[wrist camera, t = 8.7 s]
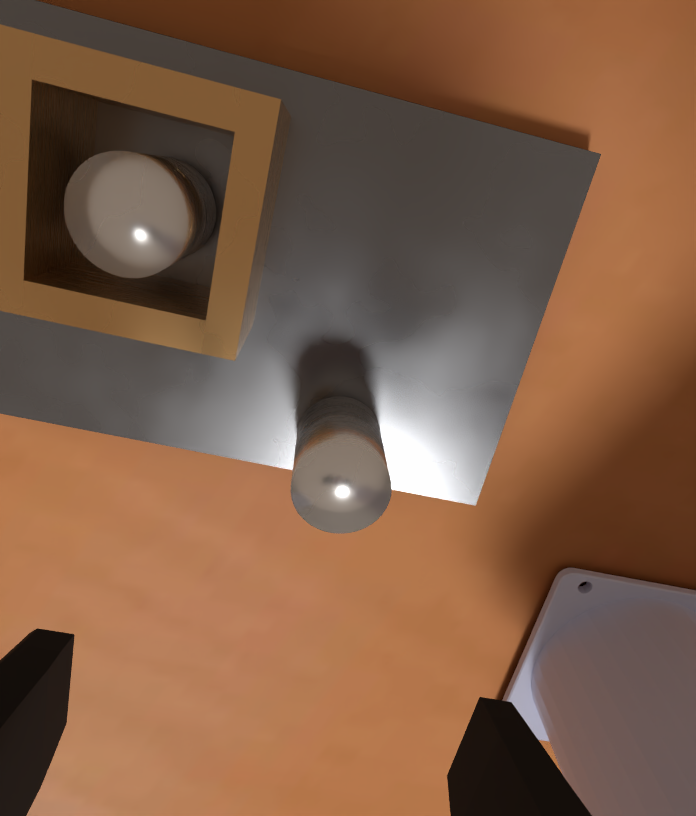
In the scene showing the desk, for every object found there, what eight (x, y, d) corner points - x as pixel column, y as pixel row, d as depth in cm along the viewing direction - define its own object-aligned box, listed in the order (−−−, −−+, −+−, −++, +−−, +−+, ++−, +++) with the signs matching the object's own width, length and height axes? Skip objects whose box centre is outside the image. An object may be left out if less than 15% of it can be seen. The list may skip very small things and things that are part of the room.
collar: (291, 116, 15) (281, 99, 12) (253, 324, 17) (234, 360, 14) (67, 57, 15) (-11, 21, 11) (54, 281, 17) (-16, 307, 13)
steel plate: (588, 155, 17) (600, 154, 16) (470, 493, 20) (475, 505, 20) (-8, -7, 15) (-26, -17, 14) (-15, 398, 19) (-30, 407, 18)
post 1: (223, 169, 16) (195, 168, 12) (208, 267, 17) (179, 289, 13) (122, 145, 15) (68, 136, 12) (113, 246, 16) (60, 263, 13)
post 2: (389, 406, 18) (403, 455, 15) (369, 479, 19) (377, 541, 16) (306, 388, 18) (302, 435, 15) (289, 463, 19) (281, 523, 16)
